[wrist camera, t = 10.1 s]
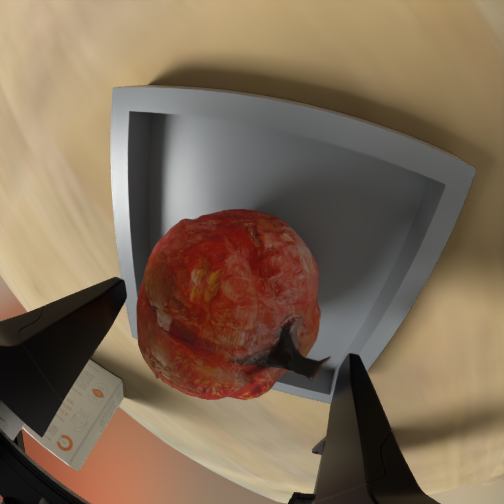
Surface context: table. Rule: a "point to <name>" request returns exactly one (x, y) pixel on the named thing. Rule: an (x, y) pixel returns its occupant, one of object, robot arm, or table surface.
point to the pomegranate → (229, 305)
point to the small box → (82, 415)
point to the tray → (290, 201)
